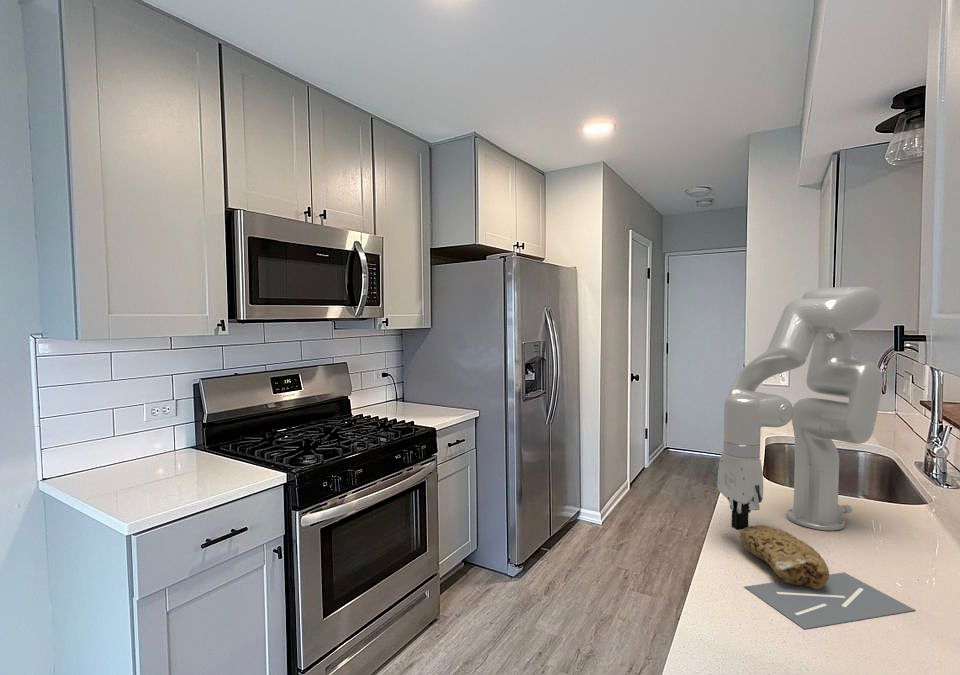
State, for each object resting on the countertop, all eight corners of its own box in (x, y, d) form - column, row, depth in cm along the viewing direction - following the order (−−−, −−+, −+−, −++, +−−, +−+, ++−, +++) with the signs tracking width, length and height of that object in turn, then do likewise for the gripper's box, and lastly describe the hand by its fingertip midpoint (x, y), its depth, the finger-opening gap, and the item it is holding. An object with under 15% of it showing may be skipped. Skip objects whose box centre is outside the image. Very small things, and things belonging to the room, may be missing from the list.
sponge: (838, 599, 99) (799, 536, 118) (834, 563, 97) (795, 505, 116) (762, 602, 102) (737, 540, 121) (757, 567, 101) (732, 510, 120)
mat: (844, 573, 107) (844, 572, 107) (915, 610, 93) (915, 609, 93) (744, 587, 101) (744, 586, 101) (804, 629, 88) (804, 628, 88)
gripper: (706, 442, 126) (704, 517, 127) (751, 459, 111) (749, 543, 112) (733, 441, 128) (731, 514, 128) (780, 457, 113) (778, 540, 114)
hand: (739, 528), depth 120 cm, fingers closed
